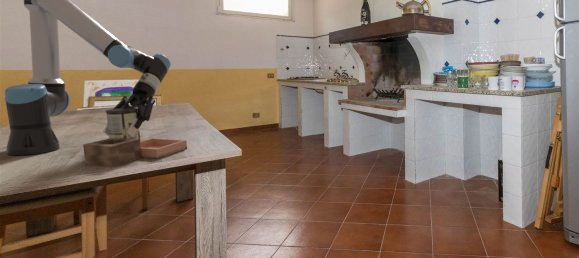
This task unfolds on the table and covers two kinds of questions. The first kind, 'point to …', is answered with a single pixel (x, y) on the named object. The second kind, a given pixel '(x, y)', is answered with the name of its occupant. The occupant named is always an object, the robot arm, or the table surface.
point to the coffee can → (121, 122)
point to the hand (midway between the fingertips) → (117, 134)
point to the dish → (161, 147)
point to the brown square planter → (112, 151)
